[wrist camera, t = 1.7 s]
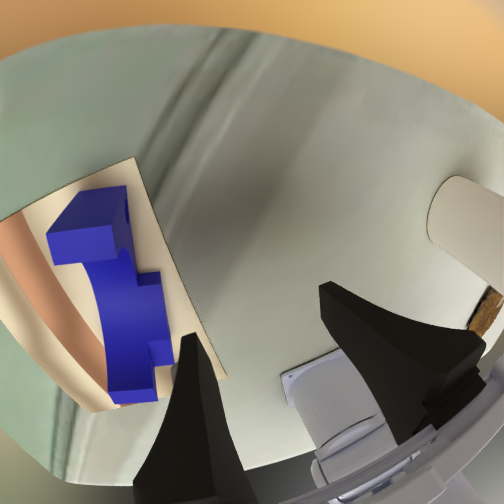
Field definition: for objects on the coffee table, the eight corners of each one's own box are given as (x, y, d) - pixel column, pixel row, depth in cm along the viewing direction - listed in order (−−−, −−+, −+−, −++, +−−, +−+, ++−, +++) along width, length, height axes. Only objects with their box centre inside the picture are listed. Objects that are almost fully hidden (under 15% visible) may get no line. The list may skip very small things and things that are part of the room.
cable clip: (170, 335, 21) (180, 398, 16) (116, 341, 20) (114, 404, 15) (151, 182, 16) (147, 220, 11) (79, 191, 14) (45, 233, 9)
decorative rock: (475, 329, 49) (501, 272, 42) (487, 338, 46) (515, 281, 39) (452, 346, 45) (482, 283, 39) (465, 357, 42) (498, 294, 35)
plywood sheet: (134, 156, 15) (133, 157, 15) (226, 375, 26) (227, 377, 26) (-40, 249, 13) (-42, 251, 12) (89, 411, 24) (89, 413, 23)
